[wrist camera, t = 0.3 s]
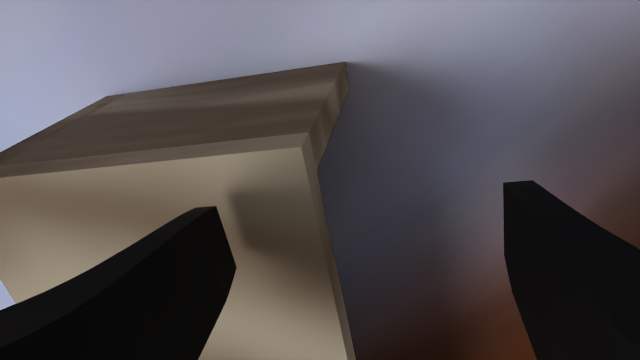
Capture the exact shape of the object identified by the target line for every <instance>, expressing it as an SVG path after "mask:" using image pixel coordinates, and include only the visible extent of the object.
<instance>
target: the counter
mask: <svg viewBox="0 0 640 360" xmlns="http://www.w3.org/2000/svg"><path fill="white" fill-rule="evenodd" d="M348 91H349V84H348V78H347V71H346V65H345V62H342V63H335V64H328V65H321V66H314V67H307V68H300V69H293V70H287V71H280V72H273V73H266V74H259V75H252V76H245V77H238V78H231V79H225V80H218V81H211V82H204V83H197V84H190V85H183V86H176V87H170V88H163V89H156V90H149V91H142V92H135V93H128V94H121V95H115V96H108V97H104V98H102V99H100V100H99V101H97V102H95V103H93V104H91V105H89V106H87V107H85V108H83V109H82V110H80V111H78V112H76V113H74V114H72V115H70V116H68V117H66V118H64V119H63V120H61V121H59V122H57V123H55V124H53V125H51V126H49V127H47V128H46V129H44V130H42V131H40V132H38V133H36V134H34V135H32V136H30V137H29V138H27V139H25V140H23V141H21V142H19V143H17V144H15V145H13V146H12V147H10V148H8V149H6V150H4V151H2V152H0V279H1V281H2V282H3V284H4V285H5V287H6V289H7V290H8V292H9V293H10V295H11V297H12V298H13V300H14V301H15V303H16V304H17V303H19V302H21V301H24V300H26V299H29V298H31V297H33V296H36V295H38V294H40V293H43V292H45V291H47V290H49V289H51V288H53V287H55V286H57V285H60V284H62V283H64V282H66V281H68V280H70V279H72V278H74V277H76V276H78V275H80V274H81V273H83V272H85V271H87V270H89V269H91V268H93V267H94V266H96V265H98V264H100V263H101V262H103V261H105V260H106V259H108V258H110V257H112V256H113V255H115V254H117V253H118V252H120V251H122V250H124V249H125V248H127V247H129V246H130V245H132V244H134V243H135V242H137V241H138V240H140V239H142V238H143V237H145V236H147V235H148V234H150V233H151V232H153V231H155V230H156V229H158V228H160V227H161V226H163V225H164V224H166V223H168V222H169V221H171V220H173V219H174V218H176V217H178V216H180V215H181V214H183V213H185V212H187V211H189V210H191V209H194V208H197V207H209V206H216V207H217V210H218V213H219V216H220V219H221V222H222V225H223V228H224V231H225V234H226V237H227V240H228V243H229V246H230V249H231V252H232V255H233V258H234V261H235V264H236V267H237V269H236V272H235V275H234V279H233V282H232V286H231V289H230V292H229V295H228V298H227V301H226V303H225V305H224V307H223V309H222V311H221V314H220V316H219V318H218V320H217V322H216V324H215V326H214V328H213V330H212V332H211V334H210V336H209V338H208V341H207V343H206V345H205V347H204V349H203V351H202V353H201V355H200V357H199V359H198V360H356V358H355V353H354V348H353V344H352V339H351V334H350V329H349V324H348V320H347V315H346V310H345V305H344V300H343V295H342V291H341V286H340V281H339V276H338V271H337V266H336V262H335V257H334V252H333V247H332V242H331V237H330V233H329V228H328V223H327V218H326V213H325V209H324V204H323V199H322V194H321V189H320V184H319V180H318V175H317V169H318V166H319V164H320V161H321V159H322V156H323V154H324V151H325V149H326V146H327V144H328V141H329V139H330V136H331V134H332V131H333V129H334V126H335V124H336V121H337V119H338V116H339V114H340V111H341V109H342V106H343V104H344V101H345V99H346V96H347V94H348Z"/></svg>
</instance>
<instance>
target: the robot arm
mask: <svg viewBox="0 0 640 360" xmlns="http://www.w3.org/2000/svg"><path fill="white" fill-rule="evenodd" d="M503 196H504V256H505V261H506V266H507V270H508V275H509V280H510V284H511V288H512V293H513V295H514V298H515V301H516V304H517V307H518V309H519V312H520V315H521V318H522V320H523V323H524V326H525V329H526V331H527V334H528V337H529V339H530V342H531V345H532V347H533V350H534V353H535V356H536V358H537V360H640V249H639V248H637V247H635V246H633V245H631V244H630V243H628V242H626V241H624V240H623V239H621V238H619V237H617V236H616V235H614V234H612V233H610V232H609V231H607V230H605V229H604V228H602V227H600V226H599V225H597V224H595V223H594V222H592V221H591V220H589V219H588V218H586V217H584V216H583V215H581V214H580V213H578V212H577V211H575V210H574V209H573V208H571V207H570V206H568V205H567V204H565V203H564V202H562V201H561V200H560V199H558V198H557V197H555V196H554V195H553V194H551V193H550V192H548V191H547V190H546V189H544V188H543V187H541V186H540V185H538V184H537V183H536V182H534V181H532V180H531V181H518V182H506V183H503ZM236 269H237V267H236V264H235V261H234V258H233V255H232V252H231V249H230V246H229V243H228V240H227V237H226V234H225V231H224V228H223V225H222V222H221V219H220V216H219V213H218V210H217V207H216V206H209V207H197V208H194V209H191V210H189V211H187V212H185V213H183V214H181V215H180V216H178V217H176V218H174V219H173V220H171V221H169V222H168V223H166V224H164V225H163V226H161V227H160V228H158V229H156V230H155V231H153V232H151V233H150V234H148V235H147V236H145V237H143V238H142V239H140V240H138V241H137V242H135V243H134V244H132V245H130V246H129V247H127V248H125V249H124V250H122V251H120V252H118V253H117V254H115V255H113V256H112V257H110V258H108V259H106V260H105V261H103V262H101V263H100V264H98V265H96V266H94V267H93V268H91V269H89V270H87V271H85V272H83V273H81V274H80V275H78V276H76V277H74V278H72V279H70V280H68V281H66V282H64V283H62V284H60V285H57V286H55V287H53V288H51V289H49V290H47V291H45V292H43V293H40V294H38V295H36V296H33V297H31V298H29V299H26V300H24V301H21V302H19V303H17V304H14V305H12V306H10V307H7V308H5V309H2V310H0V360H198V359H199V357H200V355H201V353H202V351H203V349H204V347H205V345H206V343H207V341H208V338H209V336H210V334H211V332H212V330H213V328H214V326H215V324H216V322H217V320H218V318H219V316H220V314H221V311H222V309H223V307H224V305H225V303H226V301H227V298H228V295H229V292H230V289H231V286H232V282H233V279H234V275H235V272H236Z"/></svg>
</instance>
